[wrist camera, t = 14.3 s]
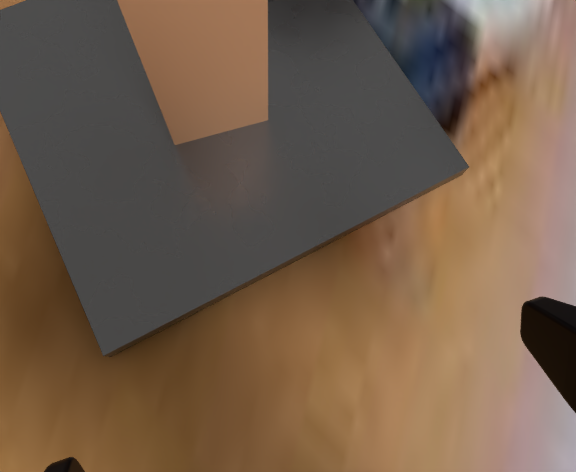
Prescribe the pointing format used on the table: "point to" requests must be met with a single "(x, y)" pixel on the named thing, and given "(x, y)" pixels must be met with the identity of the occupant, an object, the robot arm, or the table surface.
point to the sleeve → (203, 61)
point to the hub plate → (206, 157)
